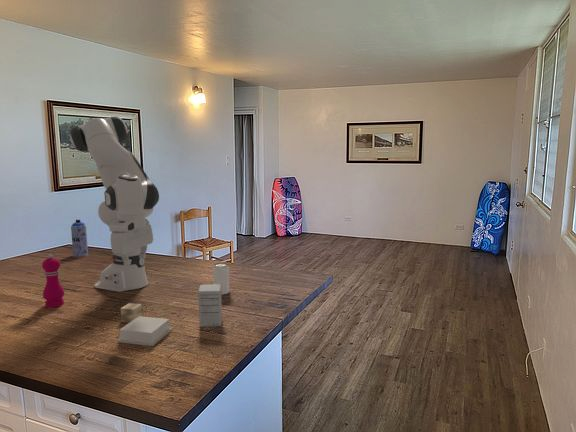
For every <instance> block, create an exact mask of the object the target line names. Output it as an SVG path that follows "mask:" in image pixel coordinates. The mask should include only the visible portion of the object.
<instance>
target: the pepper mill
mask: <svg viewBox="0 0 576 432" xmlns="http://www.w3.org/2000/svg"><path fill="white" fill-rule="evenodd" d="M41 264H42V265H41V267H42V269H43V270H44V271H43V273H44V276H45V278H46V283H45V287H44V289H43V293H42V296H43V297H42V298H43V299H44V300H45V302H44V303H45V304H44V306H45V308H49V309H50V308H53V309H54V308H58V307H61V306H64V303H65V302H64V298H63V297H64V295H65V290H64V287H63V285H62V284H61V282H60V280H59V274H60V267H61V261H60V260H59V259H58V258H56V257H54V255H53V254H51V253H49V254H48V255H47V258H46V259H44V260H43V262H42V263H41Z"/></svg>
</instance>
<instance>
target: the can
mask: <svg viewBox="0 0 576 432" xmlns="http://www.w3.org/2000/svg"><path fill="white" fill-rule="evenodd" d="M212 272H213V273H212V275H213V276H212V277H213V278H212V279H213V284H221V296H224V295H228V294H229V293H230V267H229V266H228V263H226V262H219V263H218V262H217V263H214V265H213V269H212Z"/></svg>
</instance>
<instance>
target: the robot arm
mask: <svg viewBox="0 0 576 432" xmlns="http://www.w3.org/2000/svg"><path fill="white" fill-rule="evenodd" d="M128 132H129V131H128V126H127V124H126V123H125V121H124V120H123V118H122V117H120V116H111V117H105V118H101V117H93V118H91V119H89V120H88V121H87V122H86V123H83V124H81V125H76V126H74V127H72V128H71V129H70V131H69V134H70V135H69V140H70V143H71V144H72V146H73V147H74V148H75V149H76V150H77V151H79V152H81V153H83V152H89V155H90V156H91V158H92V160H93V161H94V162H95V165H96V168H97V170H98V174H99V176H100V177H99V178H100V179H101V182H102V185H103V187H104V188H105V190H104V201H102V202H101V203H100V204H99V205H98V209H97V211H98V213H97V214H98V217H99V218H100V220H101V222H102V223H103V224H105V225H107V226H108V227H109V231H110V233H111V234H110V247H111V252H112V253H113V255H112V256H111V257H110V260H112V263H111V264H110V265H108V266H106V268H105V269H103V270H102V271H101V272H100V276H99V281H97V282H95V284H94V288H96V289H102V290H107V291H112V292H118V293H121V292H125V291H130V290H132V291H133V290H138V289H141V288H144V287H146V286H148V285H149V280H148V278H147V273H146V269H145V258H146V257H147V254H146V253H147V250H148V245H152V244H153V242H154V235H153V234H154V233H153V228H152V226H151V223H150V221H149V220H148V219H147V218H148V217H149V216H151V215H152V213H153V211H154V207H156V205H157V204H158V202H159V200H160V193H159V189H158V188H157V187H156V185H155V184H154V183H153V182H152V181H151V180H150V178H149V176H148V175H147V173H146V172H145V169H144V168H143V167H142V165H141V164H140V162H139V161H138V158H136V156H135V155H134V154H133V152H132V151H130V150H127V149H126V148H125V147H124V146H123V144H124V142H126V140H127V138H128Z"/></svg>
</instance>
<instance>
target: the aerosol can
mask: <svg viewBox="0 0 576 432" xmlns="http://www.w3.org/2000/svg"><path fill="white" fill-rule="evenodd" d="M70 231H71V243H72V244H71V245H72V257H74V258H81V257H87V256H89V250H88V249H89V248H88V237H87V236H88V235H87V234H88V233H87V226H86V224H85V223H84V222H83V221H81V219H75V222H73V223H72V224H71V226H70Z"/></svg>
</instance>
